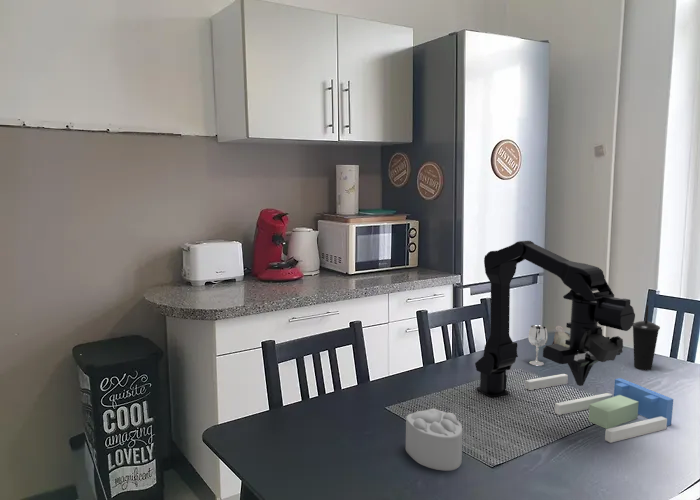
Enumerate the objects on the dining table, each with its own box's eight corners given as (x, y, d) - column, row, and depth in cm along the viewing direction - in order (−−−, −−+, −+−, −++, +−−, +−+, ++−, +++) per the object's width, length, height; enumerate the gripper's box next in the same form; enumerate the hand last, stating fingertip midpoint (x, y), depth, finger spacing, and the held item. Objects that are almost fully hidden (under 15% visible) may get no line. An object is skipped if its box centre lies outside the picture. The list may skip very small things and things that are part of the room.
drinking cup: (623, 365, 172) (627, 304, 169) (640, 362, 175) (644, 301, 172) (645, 373, 165) (650, 309, 162) (662, 369, 168) (667, 307, 166)
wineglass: (548, 366, 171) (550, 329, 169) (530, 366, 171) (532, 329, 170) (542, 360, 177) (544, 324, 175) (524, 360, 177) (526, 324, 175)
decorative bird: (560, 360, 177) (561, 338, 176) (549, 345, 193) (550, 325, 192) (577, 361, 177) (578, 338, 176) (565, 346, 192) (566, 325, 191)
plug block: (607, 430, 128) (608, 412, 128) (588, 422, 132) (589, 404, 132) (637, 419, 134) (638, 401, 134) (618, 411, 138) (619, 394, 138)
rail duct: (610, 442, 121) (612, 415, 120) (514, 390, 151) (515, 368, 150) (675, 426, 129) (677, 400, 129) (571, 380, 159) (572, 359, 158)
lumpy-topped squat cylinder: (439, 437, 124) (440, 401, 123) (474, 465, 112) (475, 425, 111) (399, 446, 120) (400, 408, 119) (430, 475, 108) (431, 434, 107)
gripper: (580, 334, 114) (576, 404, 116) (643, 325, 122) (638, 391, 124) (543, 321, 125) (539, 386, 127) (603, 313, 132) (598, 375, 134)
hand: (579, 385), depth 127 cm, fingers closed
